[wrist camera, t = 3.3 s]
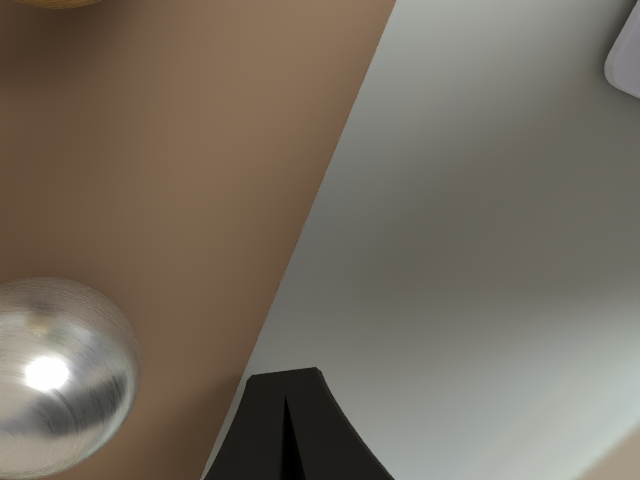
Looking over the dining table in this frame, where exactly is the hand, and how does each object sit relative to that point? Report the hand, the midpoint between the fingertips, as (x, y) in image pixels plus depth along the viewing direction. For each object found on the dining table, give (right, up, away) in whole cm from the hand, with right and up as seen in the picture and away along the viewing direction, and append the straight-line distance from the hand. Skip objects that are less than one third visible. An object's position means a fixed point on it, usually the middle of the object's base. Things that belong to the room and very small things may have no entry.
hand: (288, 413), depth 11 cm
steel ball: (-4, +1, -2) cm, 4 cm away
